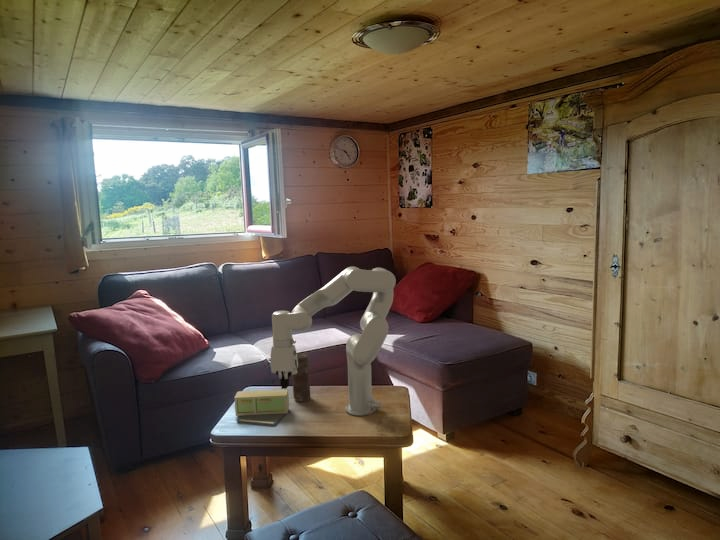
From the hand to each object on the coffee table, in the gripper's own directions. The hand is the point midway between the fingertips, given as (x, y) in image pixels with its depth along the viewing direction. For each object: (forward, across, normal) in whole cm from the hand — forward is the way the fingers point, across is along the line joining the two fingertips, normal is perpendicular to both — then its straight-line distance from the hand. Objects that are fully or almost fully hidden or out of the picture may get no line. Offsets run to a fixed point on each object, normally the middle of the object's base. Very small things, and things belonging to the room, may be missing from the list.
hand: (285, 387), depth 194 cm
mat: (+13, +10, 0) cm, 16 cm away
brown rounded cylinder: (+13, +1, -20) cm, 24 cm away
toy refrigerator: (+8, +1, -6) cm, 10 cm away
